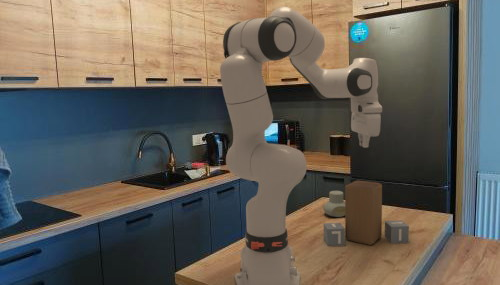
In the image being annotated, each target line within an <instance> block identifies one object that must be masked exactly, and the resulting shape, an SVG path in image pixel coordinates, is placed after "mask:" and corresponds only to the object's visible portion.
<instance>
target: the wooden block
mask: <svg viewBox="0 0 500 285" xmlns="http://www.w3.org/2000/svg"><path fill="white" fill-rule="evenodd" d="M344 187H345V189H344V190H345V194H344V199H345V201H344V202H345V217H344V218H345V219H344V222H345V223H344V224H345V225H344V228H345V240H347V241H352V242H356V243H359V244H364V245H368V246H371V245H372V246H373V244H375V243H376V242H377V241H378V240H379V239H380V238H381V237H382V233H383V232H382V229H383V228H382V226H383V225H382V224H383V222H382V218H383V217H382V216H383V215H382V214H383V213H382V212H383V185H382V183H380V182H376V181H375V182H373V181H367V180H366V181H365V180H359V179H358V180H355V181H352V182H350V183H348V184H346V185H345V186H344Z"/></svg>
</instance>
